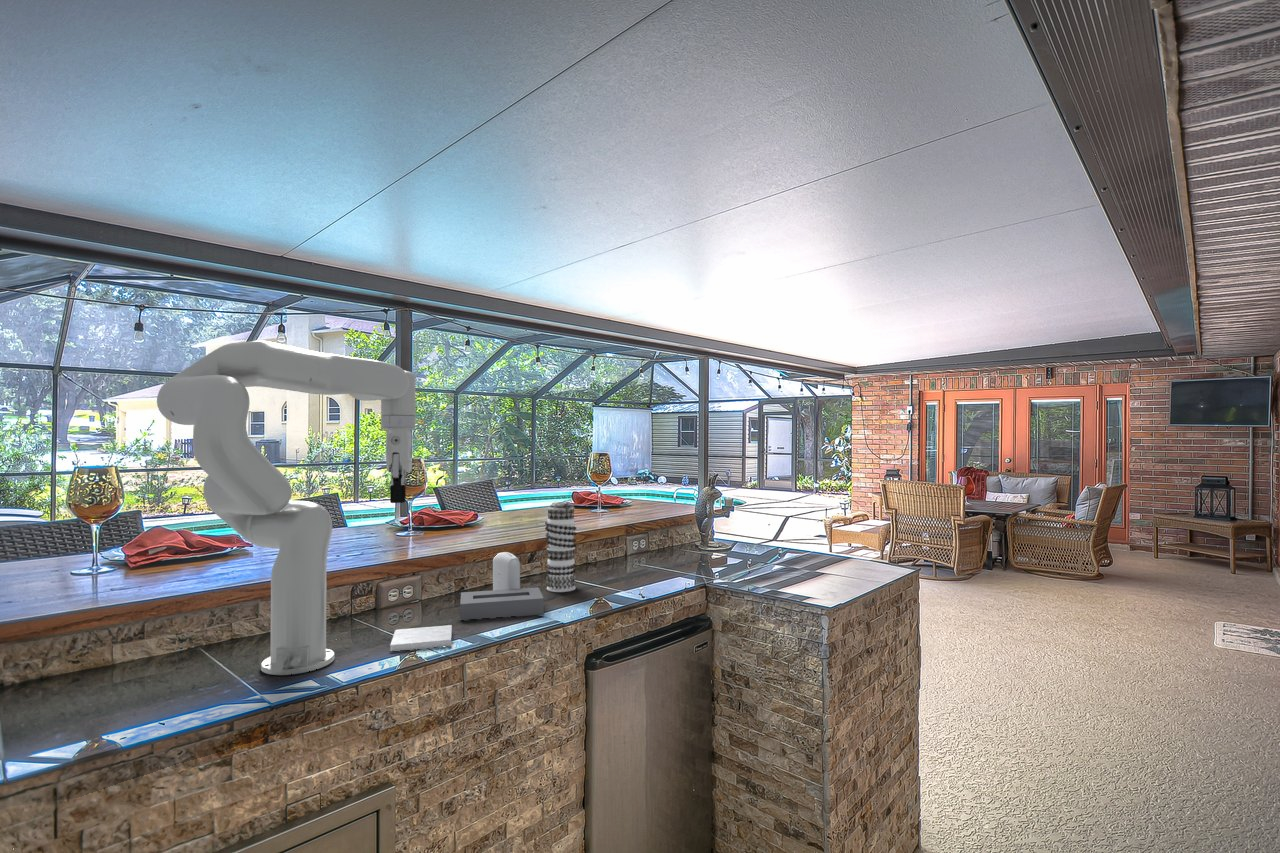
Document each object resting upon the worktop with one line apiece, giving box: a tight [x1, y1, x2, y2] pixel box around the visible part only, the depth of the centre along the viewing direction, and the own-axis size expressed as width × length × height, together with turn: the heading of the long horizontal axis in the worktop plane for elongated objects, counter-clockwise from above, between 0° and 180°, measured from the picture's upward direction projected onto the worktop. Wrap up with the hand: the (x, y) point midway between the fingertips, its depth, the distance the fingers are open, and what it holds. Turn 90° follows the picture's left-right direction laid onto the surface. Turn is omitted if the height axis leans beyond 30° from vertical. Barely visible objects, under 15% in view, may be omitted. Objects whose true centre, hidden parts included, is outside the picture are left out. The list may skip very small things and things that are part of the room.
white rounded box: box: [492, 551, 521, 590], centre depth 174 cm, size 10×4×12 cm, turn 39°
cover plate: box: [389, 624, 453, 652], centre depth 136 cm, size 2×12×11 cm
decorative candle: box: [544, 501, 577, 593], centre depth 184 cm, size 9×9×25 cm
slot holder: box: [459, 586, 545, 621], centre depth 160 cm, size 12×20×4 cm, turn 105°
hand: (397, 502), depth 146 cm, fingers closed
